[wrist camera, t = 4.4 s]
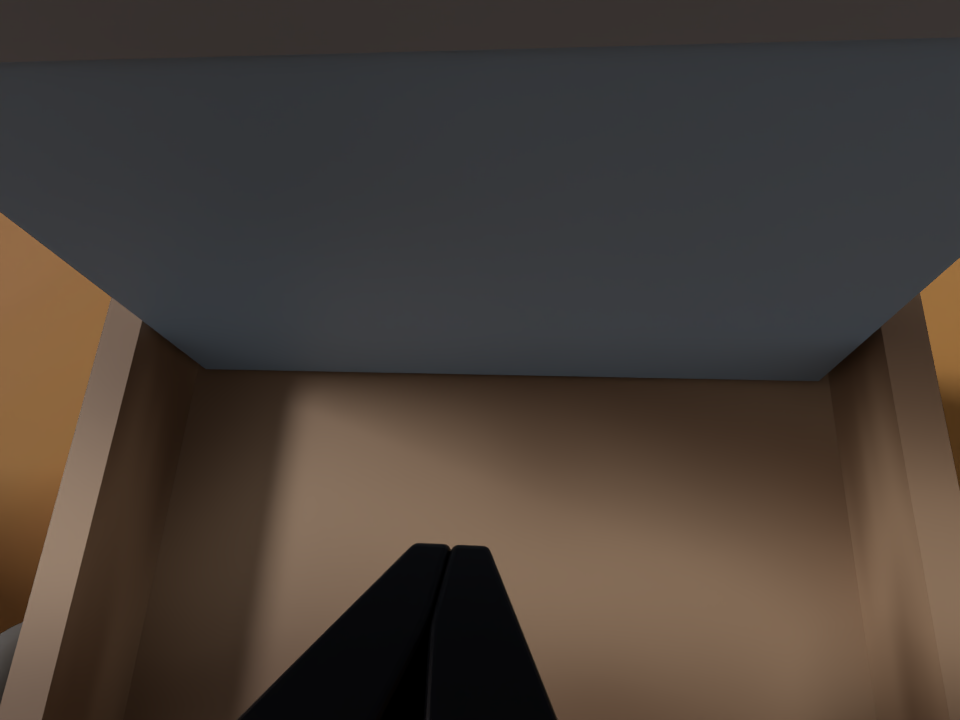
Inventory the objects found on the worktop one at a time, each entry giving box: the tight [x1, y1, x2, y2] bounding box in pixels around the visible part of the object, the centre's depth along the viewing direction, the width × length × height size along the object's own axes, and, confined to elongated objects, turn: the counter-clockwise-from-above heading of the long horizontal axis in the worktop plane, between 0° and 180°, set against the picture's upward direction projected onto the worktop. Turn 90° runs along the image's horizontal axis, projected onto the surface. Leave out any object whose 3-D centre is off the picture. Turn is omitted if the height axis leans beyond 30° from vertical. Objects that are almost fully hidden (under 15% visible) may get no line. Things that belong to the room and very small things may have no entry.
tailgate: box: [0, 0, 960, 381], centre depth 11 cm, size 1×14×10 cm, turn 87°
